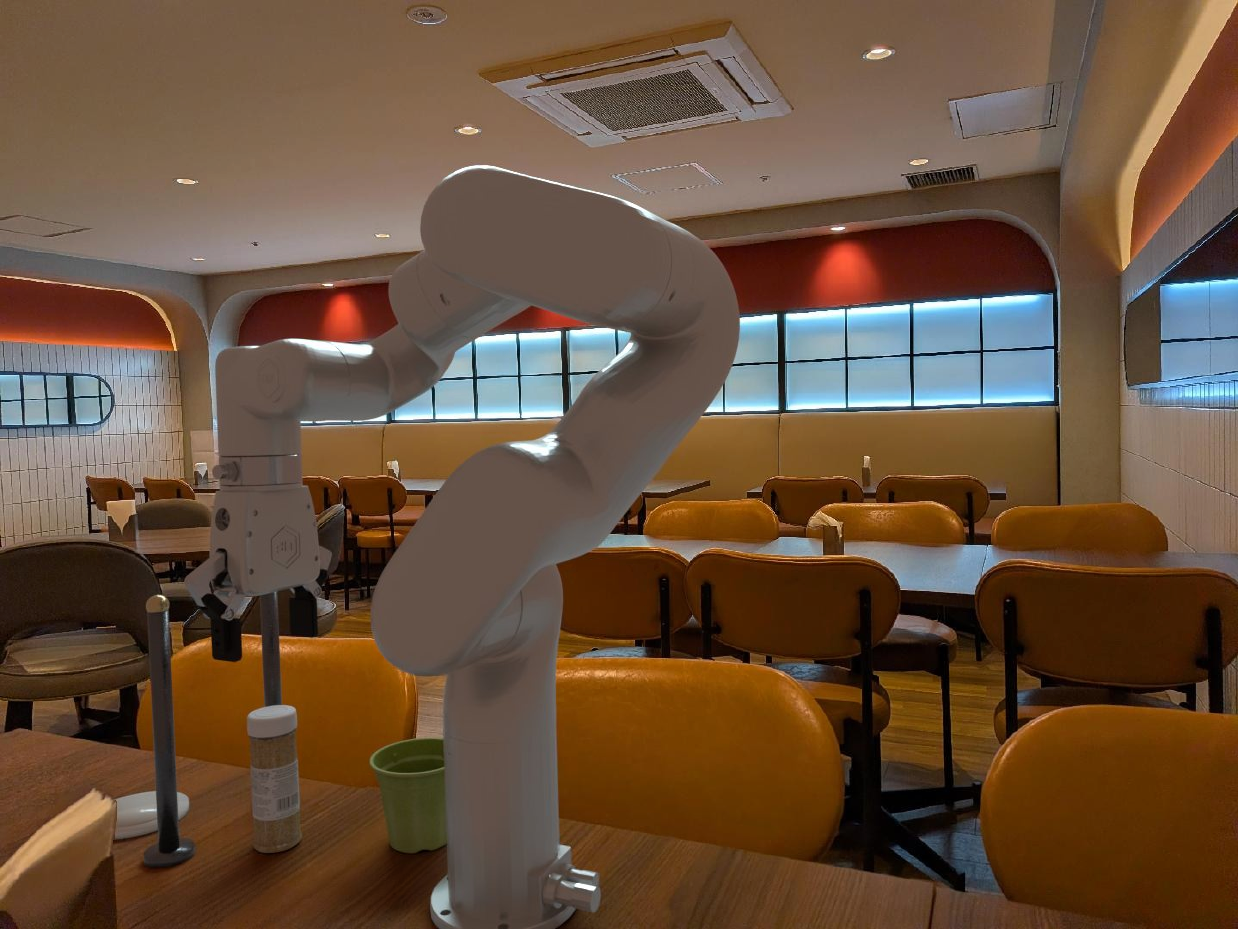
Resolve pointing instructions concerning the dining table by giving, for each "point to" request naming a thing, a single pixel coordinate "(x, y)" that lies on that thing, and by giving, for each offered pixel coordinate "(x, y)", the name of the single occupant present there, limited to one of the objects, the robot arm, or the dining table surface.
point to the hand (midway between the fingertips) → (267, 647)
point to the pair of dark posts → (169, 843)
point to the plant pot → (413, 793)
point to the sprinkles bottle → (274, 778)
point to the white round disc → (142, 814)
